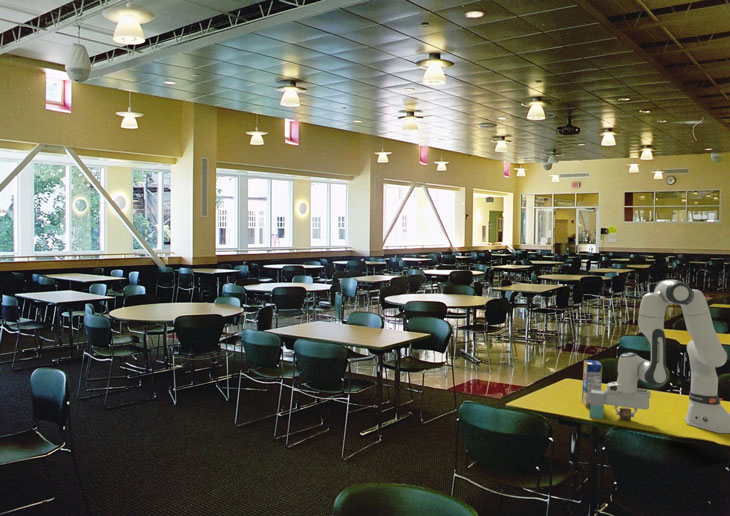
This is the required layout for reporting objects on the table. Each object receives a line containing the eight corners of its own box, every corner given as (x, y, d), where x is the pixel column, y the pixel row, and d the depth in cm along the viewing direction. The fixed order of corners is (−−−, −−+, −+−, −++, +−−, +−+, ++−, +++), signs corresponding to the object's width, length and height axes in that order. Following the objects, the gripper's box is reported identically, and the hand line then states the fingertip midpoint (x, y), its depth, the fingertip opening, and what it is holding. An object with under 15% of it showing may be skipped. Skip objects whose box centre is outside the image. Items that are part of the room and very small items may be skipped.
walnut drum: (633, 420, 293) (633, 409, 293) (625, 421, 291) (625, 410, 291) (624, 417, 298) (625, 407, 297) (617, 418, 296) (617, 407, 295)
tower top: (603, 403, 299) (604, 391, 299) (603, 406, 293) (604, 394, 293) (590, 401, 301) (591, 389, 301) (590, 404, 296) (590, 392, 295)
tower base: (603, 415, 299) (603, 403, 299) (603, 419, 294) (603, 406, 293) (589, 413, 301) (590, 401, 301) (589, 417, 296) (590, 404, 296)
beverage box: (585, 407, 312) (588, 364, 311) (581, 401, 323) (584, 359, 322) (600, 408, 311) (602, 365, 310) (595, 402, 322) (597, 360, 321)
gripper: (650, 388, 293) (648, 417, 294) (604, 383, 300) (602, 411, 301) (651, 391, 287) (649, 420, 288) (604, 386, 294) (602, 414, 295)
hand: (625, 415), depth 294 cm, fingers closed on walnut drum, 5 cm apart
